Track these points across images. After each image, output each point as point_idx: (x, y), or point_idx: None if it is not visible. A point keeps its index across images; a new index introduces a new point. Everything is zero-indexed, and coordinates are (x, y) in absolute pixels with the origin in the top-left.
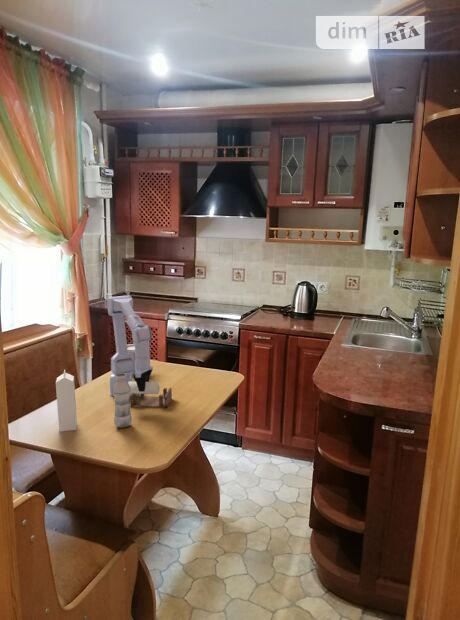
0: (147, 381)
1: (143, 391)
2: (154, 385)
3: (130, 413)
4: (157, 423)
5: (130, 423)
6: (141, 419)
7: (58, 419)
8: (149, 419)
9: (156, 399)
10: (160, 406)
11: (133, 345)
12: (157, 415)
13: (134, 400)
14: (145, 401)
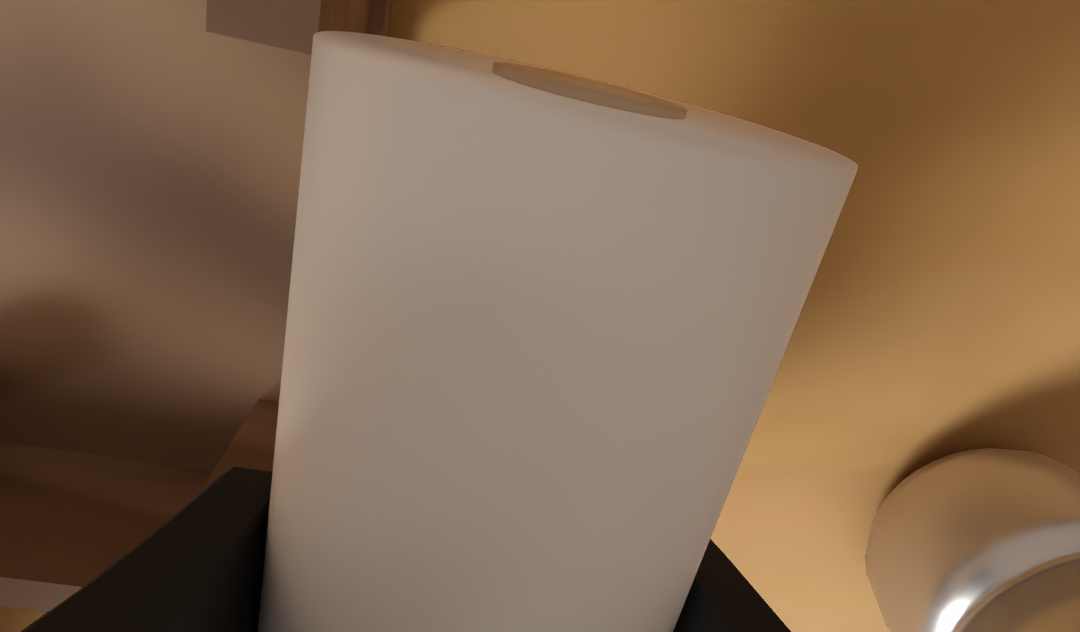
0: (206, 620)
1: (712, 551)
2: (787, 305)
3: (1075, 545)
4: (1047, 60)
5: (1053, 459)
6: (814, 315)
7: None
8: (850, 199)
9: (31, 111)
10: (386, 17)
11: None
12: (726, 69)
13: (197, 490)
14: (158, 311)
